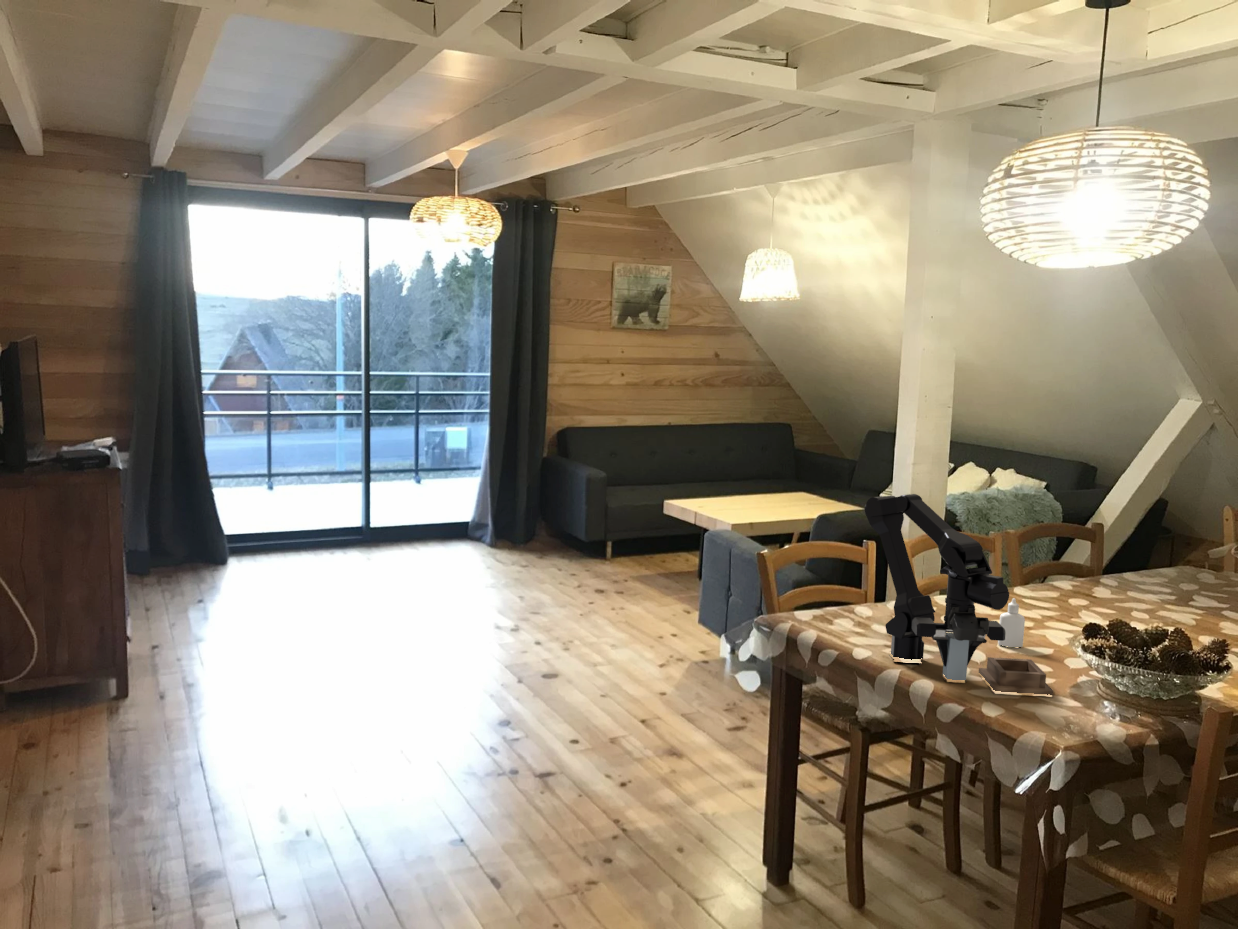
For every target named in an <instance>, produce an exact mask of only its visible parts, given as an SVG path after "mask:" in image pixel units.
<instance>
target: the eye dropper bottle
mask: <svg viewBox="0 0 1238 929" xmlns="http://www.w3.org/2000/svg"><path fill="white" fill-rule="evenodd" d="M1007 604H1008V605H1007V612H1003V613H1001V614H1000V616H999V622H998V623H999V624H1000V625H1001V626H1002V627H1003V628H1004V629H1005V632H1006V634H1005V640H1004V641H999V640H997V644H998V646H999V645H1003V646H1008V647H1022V648H1023V647H1024V646H1023V645H1024V635H1025V623H1026V619H1025V616H1024V615H1022V614H1021V613H1019V610H1020V605H1019V603H1017V601H1016V598H1015V597H1013V598H1012V599H1011V602H1007Z"/></svg>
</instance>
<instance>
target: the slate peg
mask: <svg viewBox="0 0 1238 929" xmlns="http://www.w3.org/2000/svg"><path fill="white" fill-rule="evenodd" d="M945 636H946V638H947V639H948V642H947V665H946V667H945V666H944V665H943V664H942V675H943V674H944V675H945V677H946V678H947V679H952V680H966V681H967V673H968V671H967V670H968V666H967V662H968V649H969V640H963V641H959V640H956V639H955V637H954V633H951V632H946V634H945Z"/></svg>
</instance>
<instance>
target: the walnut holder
mask: <svg viewBox="0 0 1238 929" xmlns="http://www.w3.org/2000/svg"><path fill="white" fill-rule="evenodd" d="M978 673H980V674H981V675H982V676H983V677H984V678H985V680H986V681H987V682H988V683H989V684H990V686H991V687H992V688H993V690H995V691H1001V692H1017V693H1034V694H1047V695H1048V694H1050V695H1053V696H1054V690H1053V688H1052V687H1051V686H1049V685H1048V683H1047V674H1046V672H1044V671H1043V670H1042V669H1041V668H1040V666H1038V665H1037V664H1036V662H1035V661H1034V660H1032V659H1031V658H1030V659H1028V658H1027V659H1026V658H1011V657H1010V658H1009V657H1008V658H1007V657H987V661H986V667H985V668H984V667H979V668H978Z"/></svg>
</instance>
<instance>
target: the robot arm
mask: <svg viewBox="0 0 1238 929" xmlns="http://www.w3.org/2000/svg"><path fill="white" fill-rule="evenodd" d="M864 513H865V515H866V518H867V520H868V524H869V525H870V527H872V529H873V530H874V531H875V532H876V533H877V534H878V535H879V537H880V540H881V545H882V547H883V551H884V555H885V558H886V559H885V560H886V561H887V566H888V570H889V573H890V576H891V579H892V583H893V586H894V591H895V594H896V597H895V600H894V604H893V612H894V616H893V617H892V618H891V619H890V620H889V621H887V623H885V630H886V634H888V635H890V636H891V645H890V652H891V654H892V655H893V657H899V658H904V659H911V660H912V659H921V658H922V660H923V659H924V652H925V642H924V641H923V638H931V639H932V640H933V641H935V642H936V645H937V648H938V651H939V654H940V658H941V663H943V664H942V666H943V665H944V666H945V667H946V665H947V642H948V639H947V638H946V633H954V637H955V639H956V640H959V641H963V640H969V649H968V662H967V667H968V666H969V663H970V661H971V659H972V658H973V655H974V654H975V651H976V650H977V649H978V647H980V645H982V644H987V642H988V640H987V639H986V637H987V638H988V639H989V640H990V641H998V640H999V641H1004V640H1005V634H1006V632H1005V629H1004V628H1003V627H1002V626H1001V625H1000V624H999V622H998V621H997V620H989V618H988V617H982V616H980V617H979V616H978V617H977V615H976V605H975V604H977V605H981V606H984V607H985V608H986V607H987V608H989V609H993V610H995V611H1000V610H1002V609H1003V608H1005V607H1006V605H1007V604H1008V603H1009V598H1010V591H1009V589H1008V586H1007V584H1006V583H1004V577H1003V576H999V575H997V576H996V575H992V574H993V571H992V569H991V568H992V567H991V566H990V564H989V562H988V560H987V558H986V556H985V554H984V551H983V546H982V544H981V543H980V542H979V541H978V540H976V539H974V538H973V537H971V536H969V535H967V534H965V533H963V532H960V531H957V530H956V529H954V528H953V527H951V525H949V524H948V522H946V521H945V519H943V518H942V517H941V516H940V515H939V514H938V513H936V511H934V510H933V509H932V508H931V507H930V506H929V505H928V504H927V503H926V502H925V501H923V498H922V497H921V496H920V495H919V494H916V493H907V494H902V495H900V496H895V495H885V496H873V497H872V496H871V497H870V498H869V499H867V501H866V503H865V505H864ZM904 515H906V516H907V518H909V519H910V520H911V521H912V523H914V524H915V525H916V526H917V527H918V528H920V530H921V531H923V533H924V534H926V535H927V536H928V538H930V539H931V540H932V541H933V542H934V543H935V544H936V546H937V549H938V552H939V554H940V556H941V558H942V559H943V560H944V562H945V563H946V564H947V565H945V566H944V567H943V568H941V569H940V571H939V572H940V573H941V574H944V575H947V586H946V597H945V599H944V603H945V612H944V615H943V621H944V623H942V622H935V613H936V610H935V609H934V607H933V606H934V605H933V603H932V597H931V596H930V595H929V594H926V595H924V594H923V593H922V592H921V591H920V590H919V587H918V585H917V581H916V578H915V574H914V570H913V567H912V564H911V560H910V558H909V552H908V550H907V547H906V543H905V540H904V536H903V533H902V527H903V525H904V524H903V523H904V520H905V516H904ZM969 567H970V568H969Z"/></svg>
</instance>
